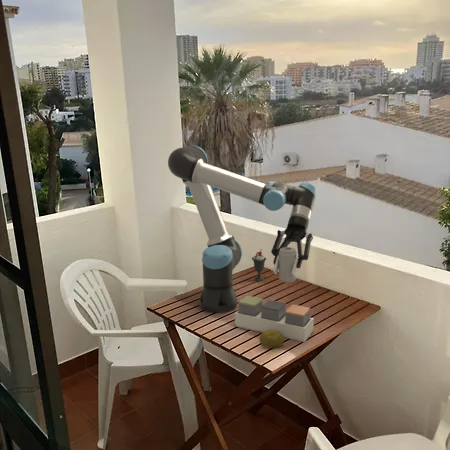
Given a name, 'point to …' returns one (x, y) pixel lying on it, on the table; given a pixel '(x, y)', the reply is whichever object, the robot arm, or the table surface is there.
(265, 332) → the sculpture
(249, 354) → the table surface
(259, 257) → the sundae
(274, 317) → the key charcoal
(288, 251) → the beverage can
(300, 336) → the light grey piece
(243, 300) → the key olive
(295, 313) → the key terracotta
